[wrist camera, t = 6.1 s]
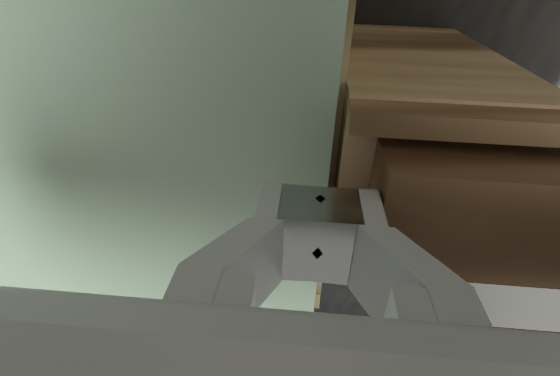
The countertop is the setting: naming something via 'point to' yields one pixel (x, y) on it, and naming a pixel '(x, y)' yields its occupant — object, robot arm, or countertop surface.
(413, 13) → the countertop surface
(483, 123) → the toolbox
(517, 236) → the wooden knobbed block
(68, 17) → the lid
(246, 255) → the robot arm
